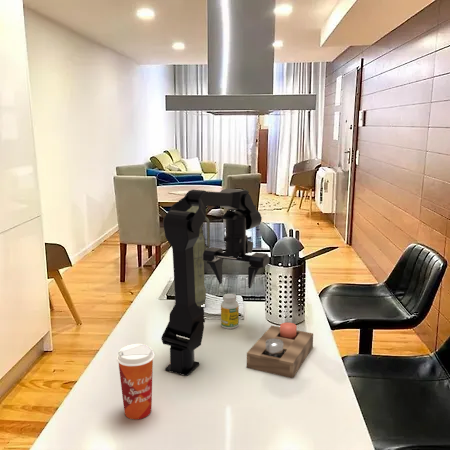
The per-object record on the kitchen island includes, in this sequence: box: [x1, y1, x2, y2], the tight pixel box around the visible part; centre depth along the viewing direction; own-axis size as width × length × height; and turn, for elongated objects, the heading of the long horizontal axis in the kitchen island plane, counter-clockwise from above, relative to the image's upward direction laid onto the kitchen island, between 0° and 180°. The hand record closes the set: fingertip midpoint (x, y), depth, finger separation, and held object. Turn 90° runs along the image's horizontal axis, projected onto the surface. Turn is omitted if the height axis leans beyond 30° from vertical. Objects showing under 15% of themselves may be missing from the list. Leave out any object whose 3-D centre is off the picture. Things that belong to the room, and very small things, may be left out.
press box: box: [246, 325, 314, 379], centre depth 123 cm, size 18×12×4 cm, turn 154°
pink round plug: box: [279, 321, 298, 340], centre depth 128 cm, size 4×4×3 cm
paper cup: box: [116, 343, 156, 420], centre depth 99 cm, size 8×8×14 cm
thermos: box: [187, 206, 211, 306], centre depth 155 cm, size 9×12×35 cm
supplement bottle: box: [220, 293, 240, 330], centre depth 142 cm, size 5×5×10 cm
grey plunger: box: [264, 339, 284, 358], centre depth 118 cm, size 4×4×3 cm
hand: (235, 285), depth 137 cm, fingers open, 9 cm apart
